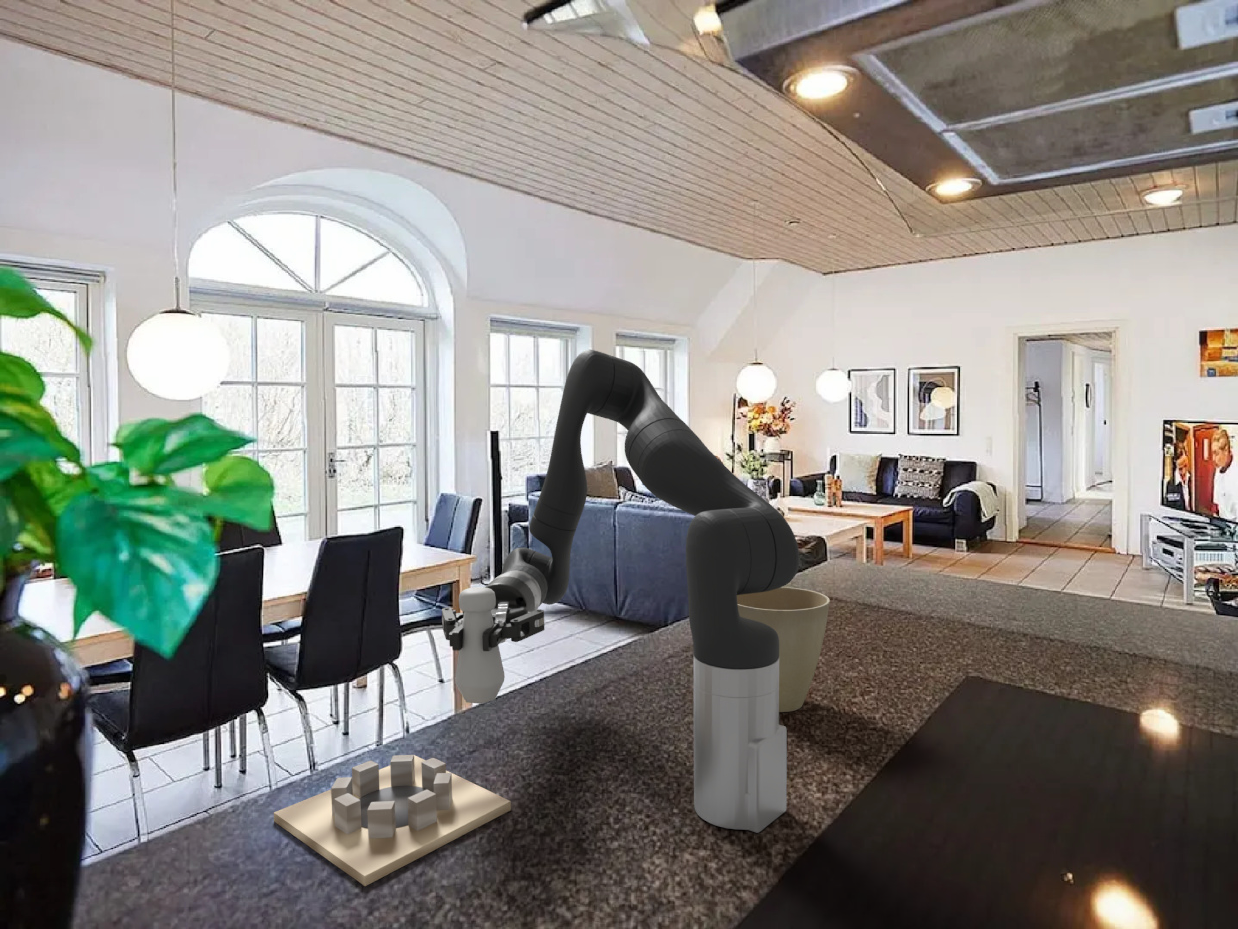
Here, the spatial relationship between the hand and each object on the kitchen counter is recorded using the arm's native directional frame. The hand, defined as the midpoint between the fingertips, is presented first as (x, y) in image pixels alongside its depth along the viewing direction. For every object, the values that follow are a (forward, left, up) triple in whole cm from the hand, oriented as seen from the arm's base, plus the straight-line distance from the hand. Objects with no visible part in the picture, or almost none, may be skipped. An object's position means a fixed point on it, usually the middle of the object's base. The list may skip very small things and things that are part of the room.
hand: (470, 642), depth 90 cm
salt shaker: (+2, -2, -8) cm, 8 cm away
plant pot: (-13, -46, -18) cm, 51 cm away
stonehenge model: (+3, +9, -18) cm, 20 cm away
